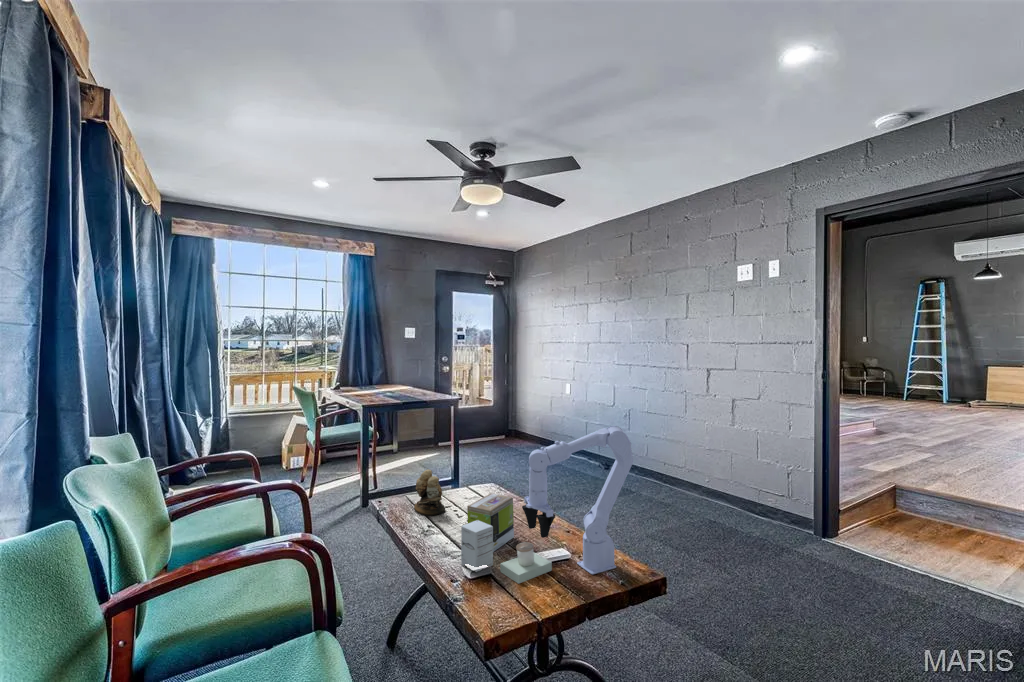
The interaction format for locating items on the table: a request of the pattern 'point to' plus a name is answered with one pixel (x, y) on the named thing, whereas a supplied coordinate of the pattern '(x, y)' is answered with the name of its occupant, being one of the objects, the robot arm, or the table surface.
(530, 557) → the cream cup
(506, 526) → the tea box
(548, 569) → the sage book
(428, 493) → the brown rock sculpture
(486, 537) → the supplement box
